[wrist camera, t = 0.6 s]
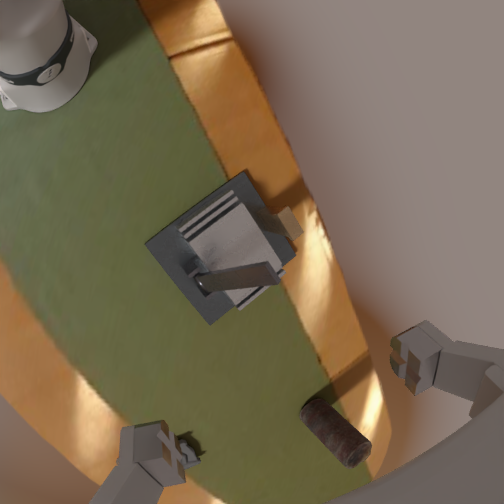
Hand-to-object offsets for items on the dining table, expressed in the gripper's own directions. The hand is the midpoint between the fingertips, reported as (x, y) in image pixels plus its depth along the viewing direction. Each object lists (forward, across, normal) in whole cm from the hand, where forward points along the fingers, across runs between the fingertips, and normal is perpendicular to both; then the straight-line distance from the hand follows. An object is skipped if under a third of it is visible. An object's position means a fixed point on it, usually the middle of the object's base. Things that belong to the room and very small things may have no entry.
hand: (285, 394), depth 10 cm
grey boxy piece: (+44, -1, +12) cm, 46 cm away
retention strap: (+32, -1, +11) cm, 34 cm away
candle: (+40, -10, +55) cm, 69 cm away
